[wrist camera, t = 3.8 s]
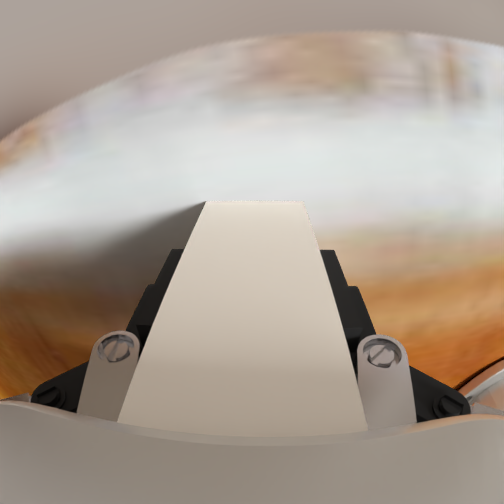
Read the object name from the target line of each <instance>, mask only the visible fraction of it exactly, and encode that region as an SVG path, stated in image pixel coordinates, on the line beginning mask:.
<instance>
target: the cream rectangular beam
mask: <svg viewBox="0 0 504 504" xmlns="http://www.w3.org/2000/svg"><path fill="white" fill-rule="evenodd" d="M117 422H118V423H123V424H129V425H134V426H140V427H146V428H153V429H160V430H167V431H176V432H185V433H195V434H206V435H220V436H241V437H295V436H317V435H331V434H343V433H353V432H361V431H368V428H367V424H366V419H365V415H364V410H363V406H362V401H361V397H360V393H359V389H358V385H357V380H356V376H355V372H354V368H353V365H352V361H351V357H350V353H349V349H348V345H347V342H346V338H345V334H344V331H343V327H342V323H341V320H340V316H339V313H338V309H337V306H336V302H335V299H334V295H333V292H332V289H331V285H330V282H329V279H328V275H327V272H326V269H325V266H324V262H323V259H322V256H321V253H320V250H319V247H318V244H317V241H316V237H315V234H314V231H313V228H312V225H311V222H310V219H309V216H308V213H307V211H306V208H305V205H304V202H303V201H206V203H205V205H204V208H203V210H202V212H201V214H200V216H199V218H198V221H197V223H196V225H195V227H194V229H193V231H192V234H191V236H190V238H189V240H188V242H187V245H186V247H185V249H184V251H183V254H182V256H181V258H180V261H179V263H178V265H177V267H176V270H175V272H174V274H173V277H172V279H171V281H170V284H169V286H168V289H167V291H166V293H165V296H164V298H163V301H162V303H161V305H160V308H159V310H158V313H157V315H156V318H155V320H154V323H153V325H152V328H151V330H150V333H149V335H148V338H147V341H146V343H145V346H144V348H143V351H142V354H141V356H140V359H139V362H138V364H137V367H136V370H135V372H134V375H133V378H132V381H131V383H130V386H129V389H128V392H127V394H126V397H125V400H124V403H123V406H122V409H121V412H120V415H119V418H118V421H117Z"/></svg>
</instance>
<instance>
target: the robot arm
mask: <svg viewBox="0 0 504 504" xmlns="http://www.w3.org/2000/svg"><path fill="white" fill-rule="evenodd" d="M183 251H184V249H172V250H171V252H170V254H169V256H168V258H167V260H166V262H165V264H164V266H163V268H162V270H161V272H160V274H159V276H158V278H157V280H156V282H155V284H150V285H148V286H147V288H146V290H145V292H144V294H143V296H142V298H141V300H140V302H139V304H138V306H137V308H136V310H135V312H134V314H133V316H132V318H131V320H130V322H129V325H128V327H127V329H126V331H114V332H110V333H108V334H105V335H104V336H102V337H101V338H99V339H98V340H97V342H96V343H95V345H94V347H93V349H92V353H91V356H90V360H89V361H88V362H86V363H84V364H82V365H80V366H78V367H75V368H73V369H71V370H69V371H67V372H65V373H63V374H61V375H59V376H57V377H55V378H53V379H51V380H48V381H46V382H44V383H43V384H41V385H39V386H38V387H37V388H36V389H35V391H34V392H33V394H32V396H30V394H29V393H25V394H21V395H18V396H14V397H10V398H6V399H2V400H0V504H504V360H502V361H500V362H498V363H496V364H495V365H493V366H491V367H490V368H488V369H487V370H485V371H484V372H482V373H481V374H479V375H478V376H476V377H475V378H474V379H472V380H471V381H470V382H469V383H467V384H466V385H465V386H463V387H462V388H461V389H460V390H459V391H456V390H455V389H453V388H451V387H449V386H447V385H445V384H443V383H441V382H439V381H437V380H436V379H434V378H432V377H430V376H428V375H426V374H424V373H422V372H421V371H419V370H417V369H415V368H413V367H411V366H409V364H408V358H407V353H406V350H405V348H404V347H403V345H402V344H401V343H400V342H399V341H397V340H396V339H394V338H392V337H389V336H386V335H376V332H375V329H374V327H373V324H372V322H371V319H370V316H369V314H368V311H367V309H366V306H365V304H364V301H363V299H362V296H361V294H360V291H359V289H358V287H356V286H348V285H347V282H346V279H345V277H344V274H343V272H342V269H341V266H340V264H339V261H338V259H337V256H336V254H335V251H334V250H320V253H321V256H322V259H323V262H324V266H325V269H326V272H327V275H328V279H329V282H330V285H331V289H332V292H333V295H334V299H335V302H336V306H337V309H338V313H339V316H340V320H341V323H342V327H343V331H344V334H345V338H346V342H347V345H348V349H349V353H350V357H351V361H352V365H353V368H354V372H355V376H356V380H357V385H358V389H359V393H360V397H361V401H362V406H363V410H364V415H365V419H366V424H367V428H368V431H361V432H353V433H343V434H331V435H317V436H295V437H241V436H220V435H206V434H195V433H185V432H176V431H167V430H160V429H153V428H146V427H140V426H134V425H129V424H123V423H118V422H117V421H118V418H119V415H120V412H121V409H122V406H123V403H124V400H125V397H126V394H127V392H128V389H129V386H130V383H131V381H132V378H133V375H134V372H135V370H136V367H137V364H138V362H139V359H140V356H141V354H142V351H143V348H144V346H145V343H146V341H147V338H148V335H149V333H150V330H151V328H152V325H153V323H154V320H155V318H156V315H157V313H158V310H159V308H160V305H161V303H162V301H163V298H164V296H165V293H166V291H167V289H168V286H169V284H170V281H171V279H172V277H173V274H174V272H175V270H176V267H177V265H178V263H179V261H180V258H181V256H182V254H183Z"/></svg>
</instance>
